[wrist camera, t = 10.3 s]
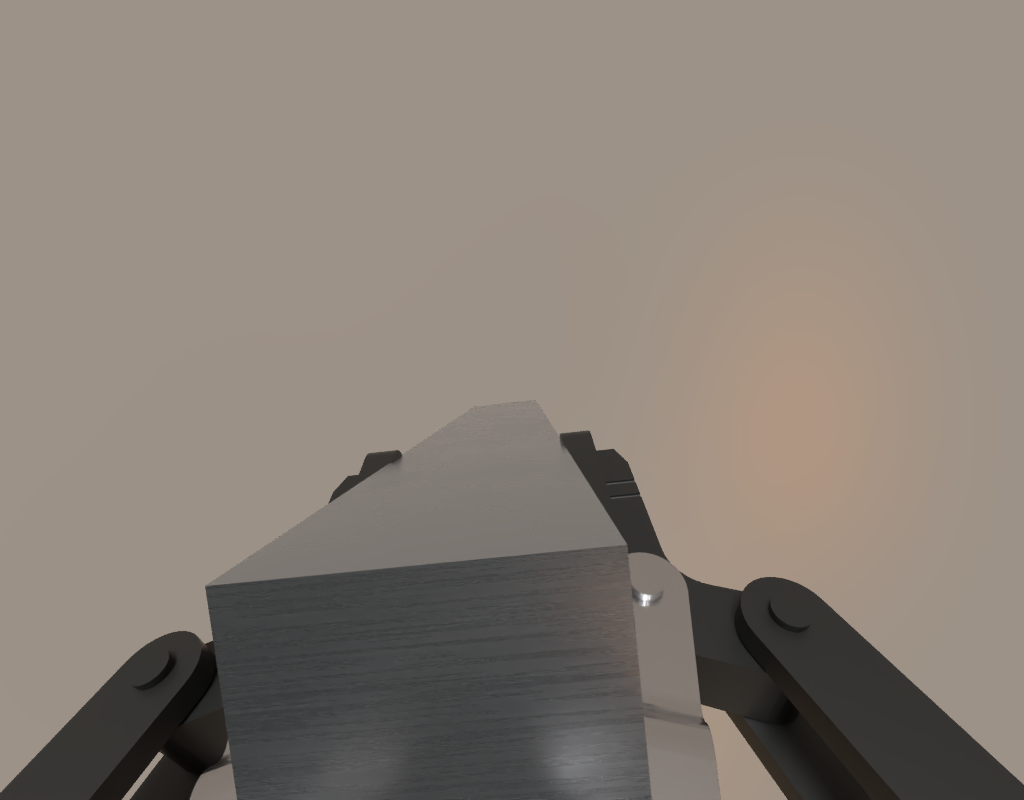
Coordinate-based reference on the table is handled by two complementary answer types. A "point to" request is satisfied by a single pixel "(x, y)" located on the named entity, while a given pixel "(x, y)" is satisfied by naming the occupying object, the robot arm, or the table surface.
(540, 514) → the grey metal bar
